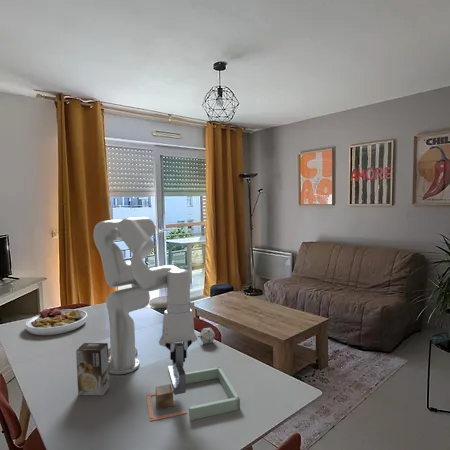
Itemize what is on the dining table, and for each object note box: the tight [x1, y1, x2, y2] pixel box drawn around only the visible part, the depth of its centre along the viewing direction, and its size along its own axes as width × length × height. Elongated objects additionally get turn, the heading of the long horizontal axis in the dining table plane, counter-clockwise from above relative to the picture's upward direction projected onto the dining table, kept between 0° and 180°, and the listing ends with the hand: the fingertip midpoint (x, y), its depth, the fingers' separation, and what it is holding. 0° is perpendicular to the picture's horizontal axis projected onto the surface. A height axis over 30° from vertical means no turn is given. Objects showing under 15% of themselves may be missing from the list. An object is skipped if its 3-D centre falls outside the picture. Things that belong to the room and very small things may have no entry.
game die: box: [197, 325, 218, 346], centre depth 150 cm, size 9×8×10 cm
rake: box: [167, 341, 187, 396], centre depth 105 cm, size 4×14×13 cm, turn 18°
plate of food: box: [25, 308, 88, 336], centre depth 174 cm, size 30×30×8 cm
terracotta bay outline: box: [146, 388, 187, 422], centre depth 104 cm, size 11×14×1 cm
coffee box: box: [75, 342, 110, 396], centre depth 112 cm, size 9×6×16 cm
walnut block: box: [155, 383, 174, 411], centre depth 104 cm, size 5×5×5 cm
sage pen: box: [185, 366, 241, 421], centre depth 109 cm, size 16×21×4 cm
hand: (178, 360), depth 106 cm, fingers closed on rake, 2 cm apart
